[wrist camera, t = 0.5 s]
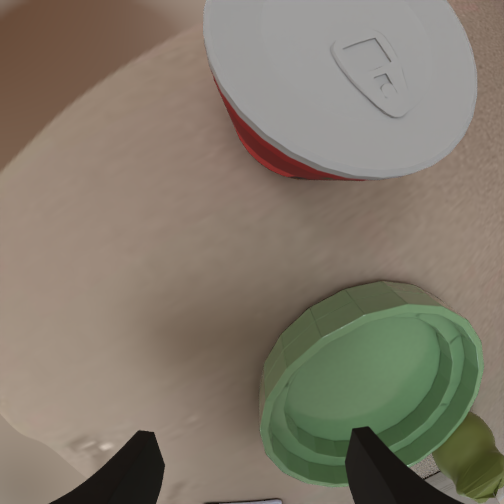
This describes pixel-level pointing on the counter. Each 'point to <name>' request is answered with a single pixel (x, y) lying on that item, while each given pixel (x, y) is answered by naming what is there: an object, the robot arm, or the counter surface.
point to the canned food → (343, 83)
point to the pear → (472, 460)
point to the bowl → (367, 379)
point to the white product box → (453, 489)
